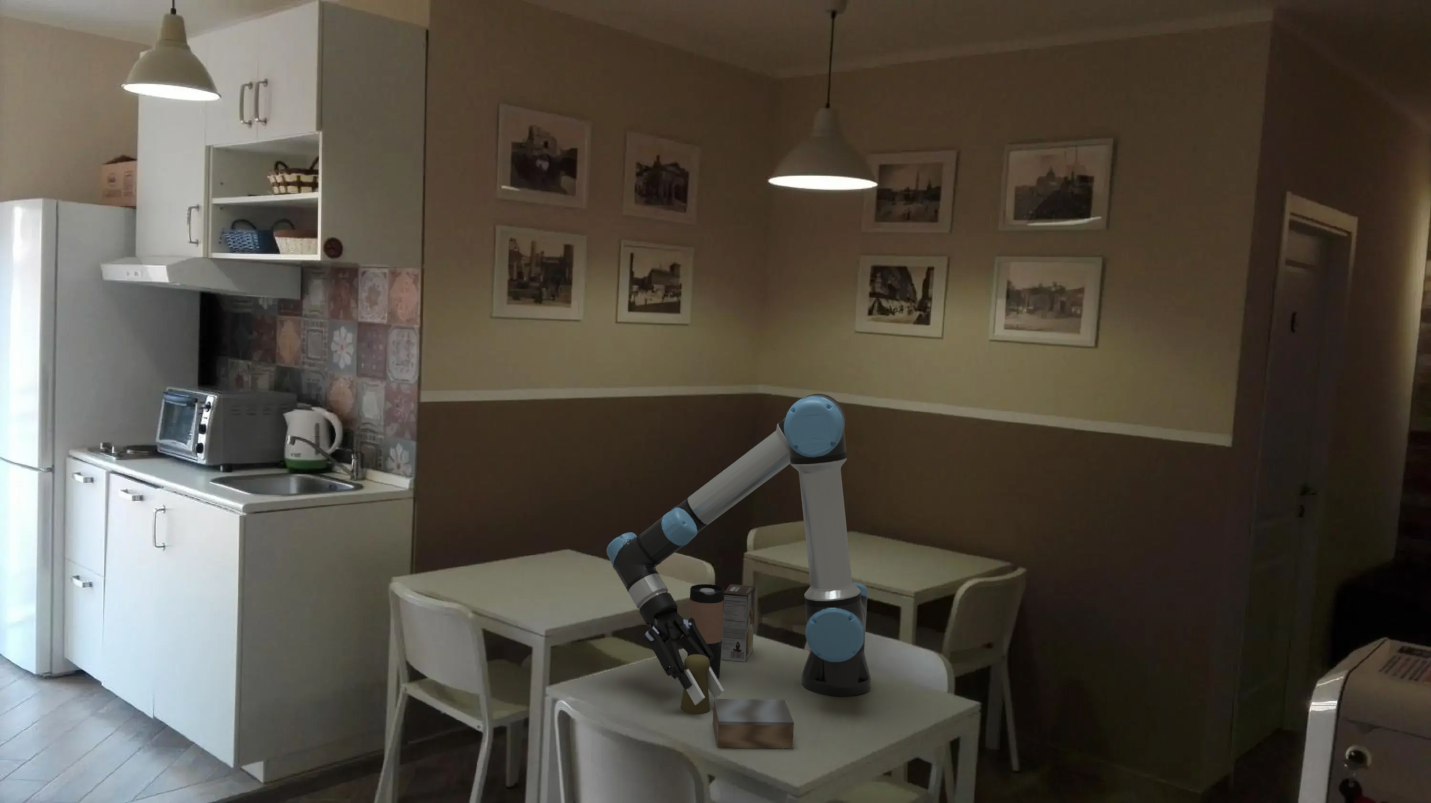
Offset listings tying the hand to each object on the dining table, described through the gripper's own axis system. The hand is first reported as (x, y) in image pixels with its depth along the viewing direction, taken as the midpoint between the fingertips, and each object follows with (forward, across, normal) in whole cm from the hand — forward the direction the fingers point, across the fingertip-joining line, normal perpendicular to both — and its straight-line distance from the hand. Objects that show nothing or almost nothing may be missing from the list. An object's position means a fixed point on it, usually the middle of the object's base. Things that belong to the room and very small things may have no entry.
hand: (709, 697), depth 217 cm
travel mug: (-9, -16, -14) cm, 23 cm away
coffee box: (-12, -34, -17) cm, 40 cm away
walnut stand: (+12, +3, +7) cm, 14 cm away
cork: (0, 0, -5) cm, 5 cm away
